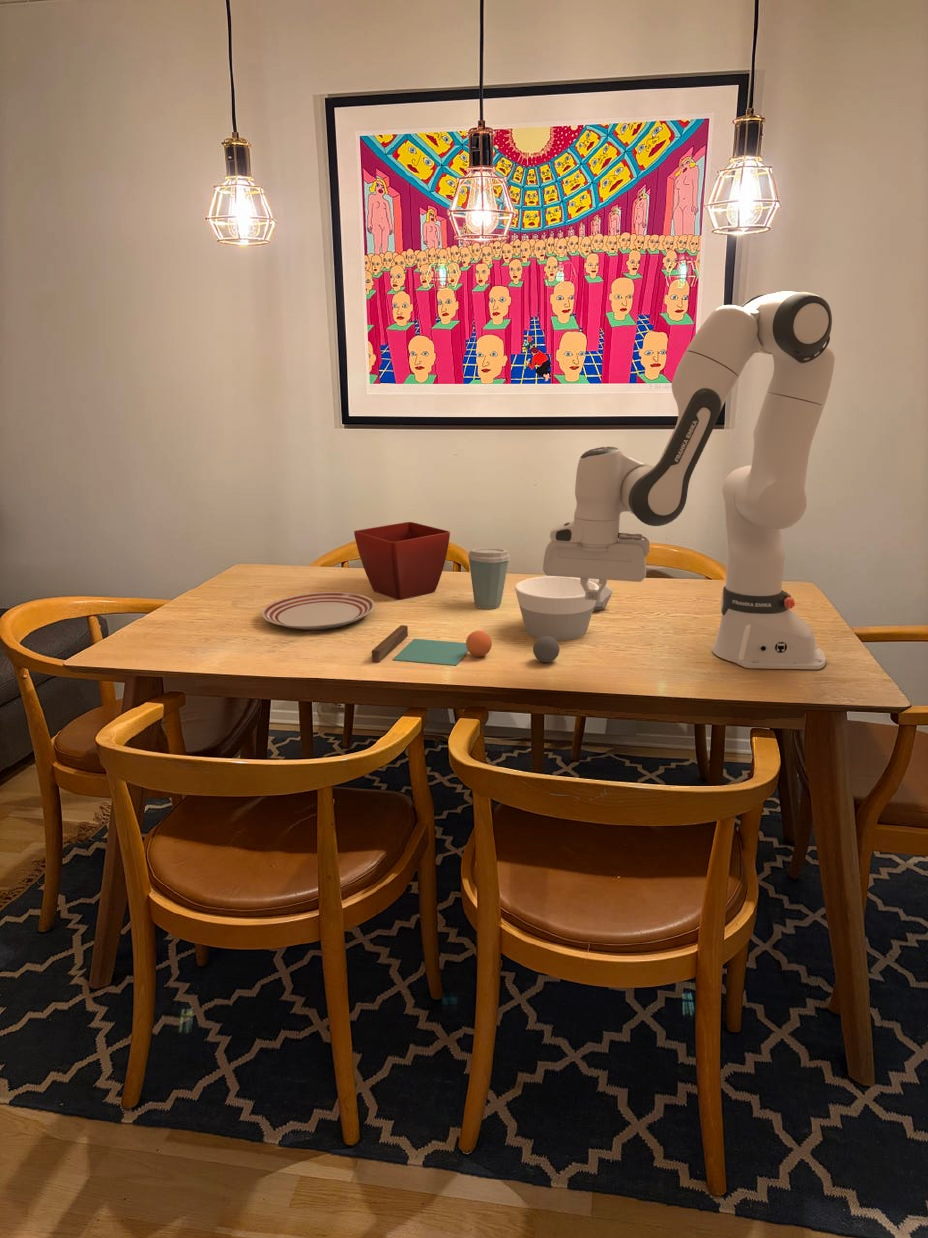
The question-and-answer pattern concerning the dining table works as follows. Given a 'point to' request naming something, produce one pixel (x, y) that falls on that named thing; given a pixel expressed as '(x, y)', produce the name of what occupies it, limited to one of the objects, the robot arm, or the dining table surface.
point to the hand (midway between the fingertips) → (592, 599)
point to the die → (602, 596)
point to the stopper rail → (389, 643)
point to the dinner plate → (318, 610)
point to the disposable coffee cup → (488, 575)
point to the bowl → (555, 606)
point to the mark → (433, 652)
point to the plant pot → (403, 558)
